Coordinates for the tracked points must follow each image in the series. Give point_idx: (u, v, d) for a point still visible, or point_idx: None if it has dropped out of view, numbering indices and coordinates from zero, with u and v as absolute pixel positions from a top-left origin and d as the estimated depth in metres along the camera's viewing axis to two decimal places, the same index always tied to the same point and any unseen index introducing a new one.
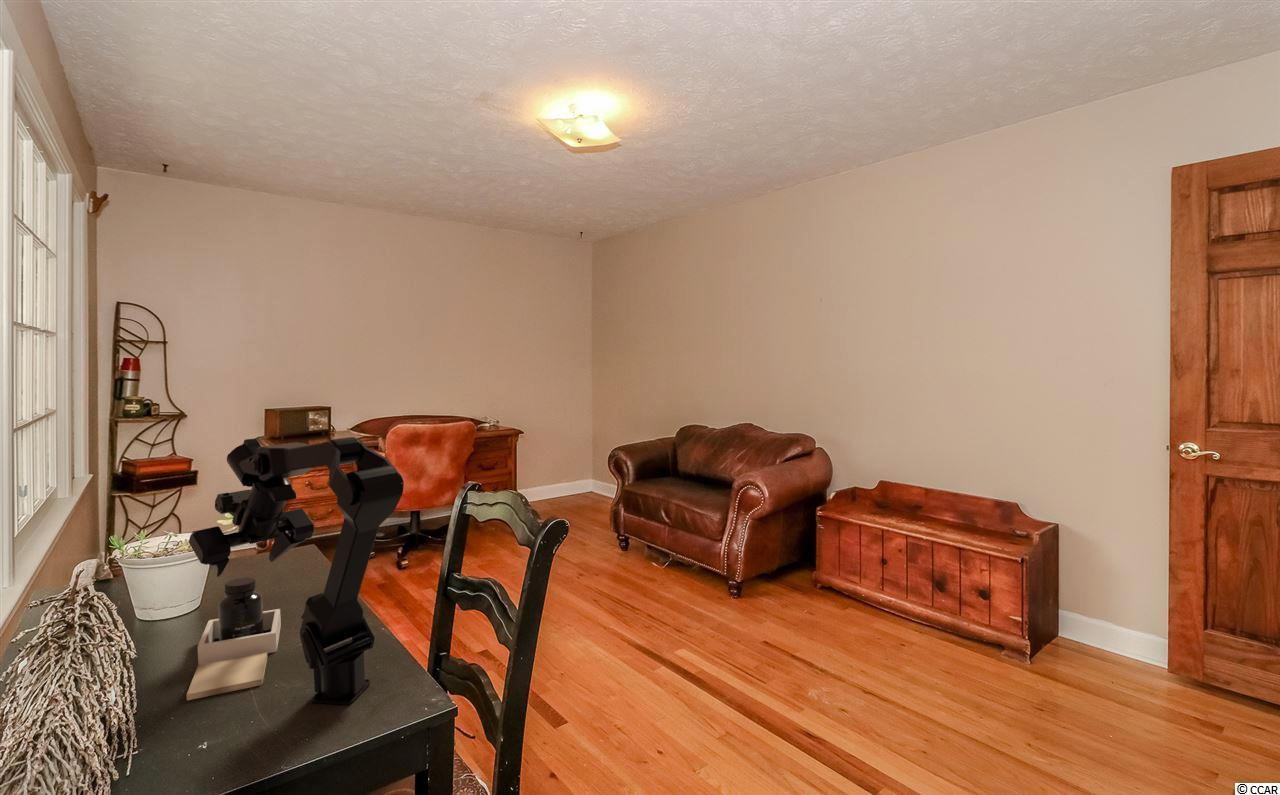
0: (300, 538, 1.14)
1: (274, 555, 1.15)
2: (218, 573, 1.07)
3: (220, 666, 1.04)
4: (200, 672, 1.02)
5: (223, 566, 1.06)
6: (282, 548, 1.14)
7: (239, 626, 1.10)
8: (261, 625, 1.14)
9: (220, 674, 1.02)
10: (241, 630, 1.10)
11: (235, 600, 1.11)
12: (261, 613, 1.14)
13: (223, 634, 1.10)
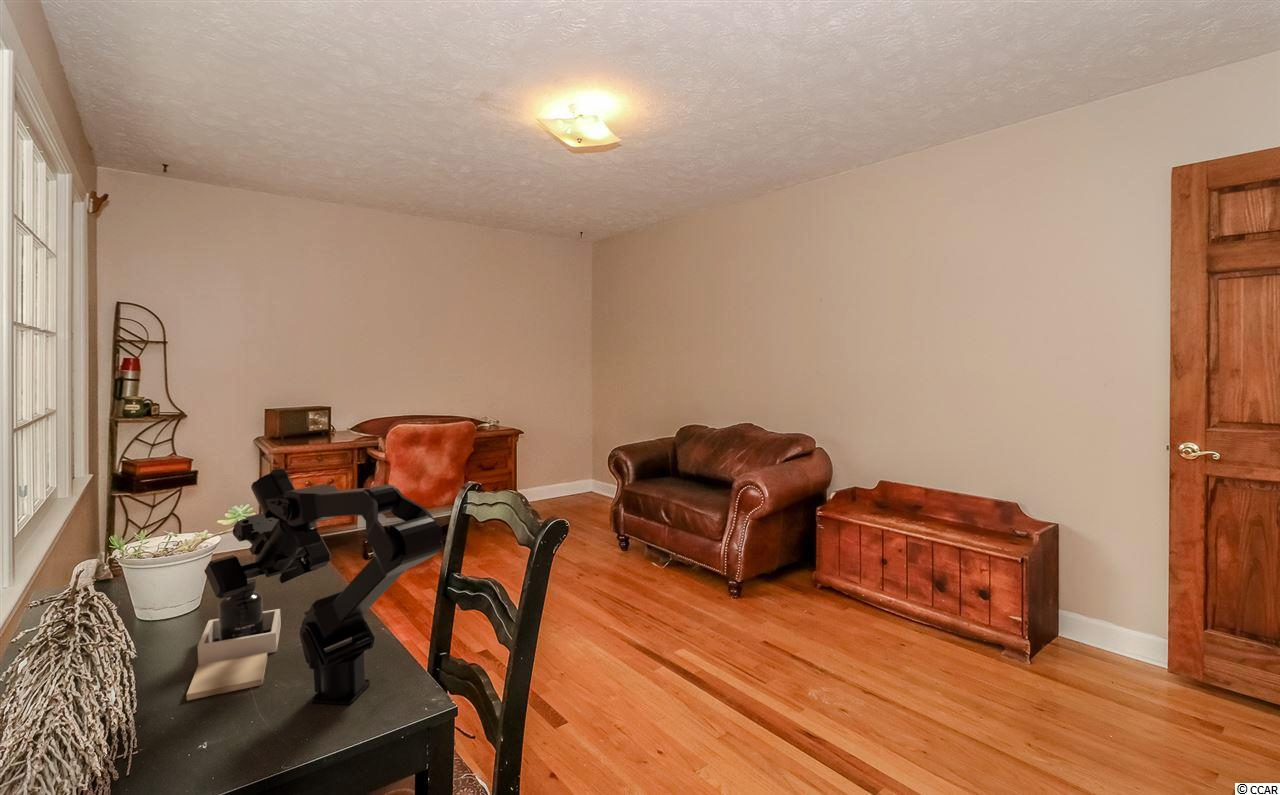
0: (315, 568, 1.11)
1: (286, 578, 1.13)
2: (230, 599, 1.05)
3: (220, 666, 1.04)
4: (200, 672, 1.02)
5: (236, 595, 1.03)
6: (295, 574, 1.12)
7: (239, 626, 1.10)
8: (261, 625, 1.14)
9: (220, 674, 1.02)
10: (241, 630, 1.10)
11: (235, 600, 1.11)
12: (261, 613, 1.14)
13: (223, 634, 1.10)
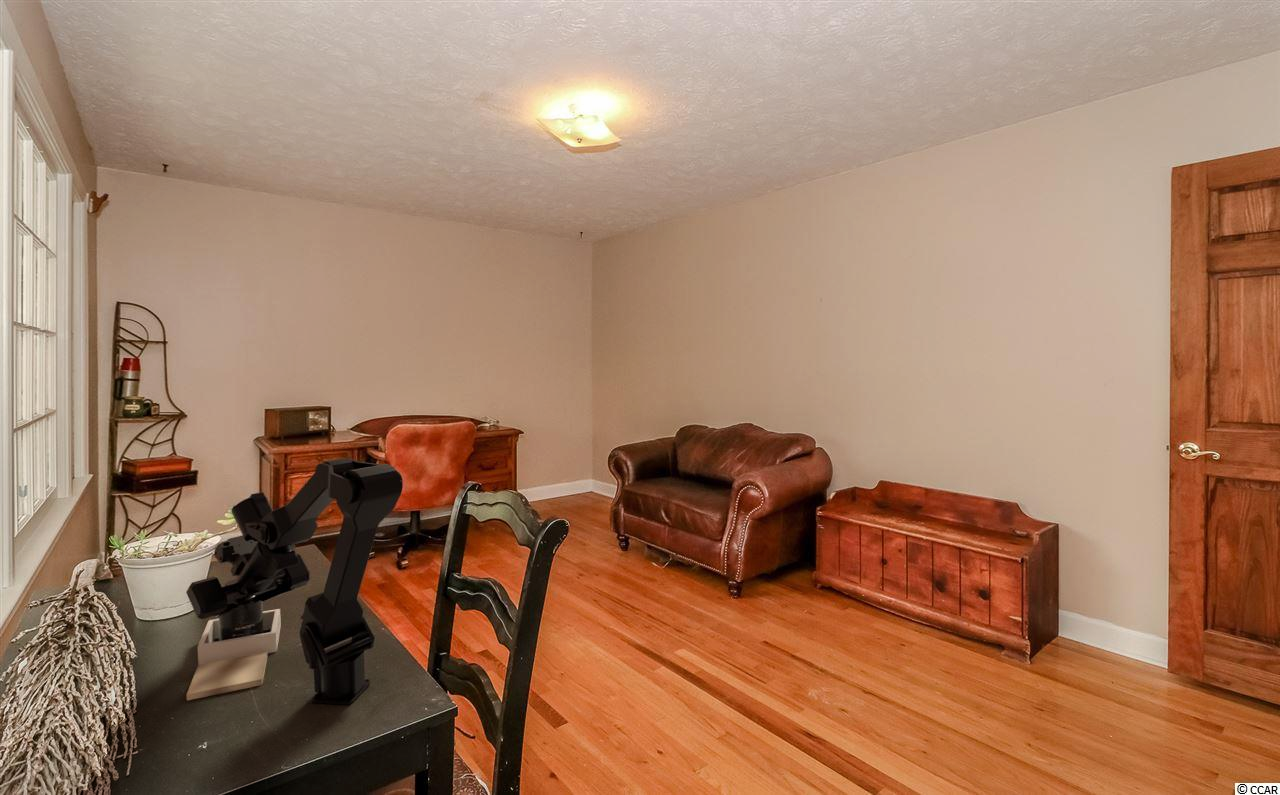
0: (295, 587, 1.15)
1: None
2: (218, 616, 1.09)
3: (220, 666, 1.04)
4: (200, 672, 1.02)
5: (224, 613, 1.08)
6: (270, 595, 1.15)
7: (239, 626, 1.10)
8: (261, 625, 1.14)
9: (220, 674, 1.02)
10: (241, 630, 1.10)
11: (235, 600, 1.11)
12: (261, 613, 1.14)
13: (223, 634, 1.10)
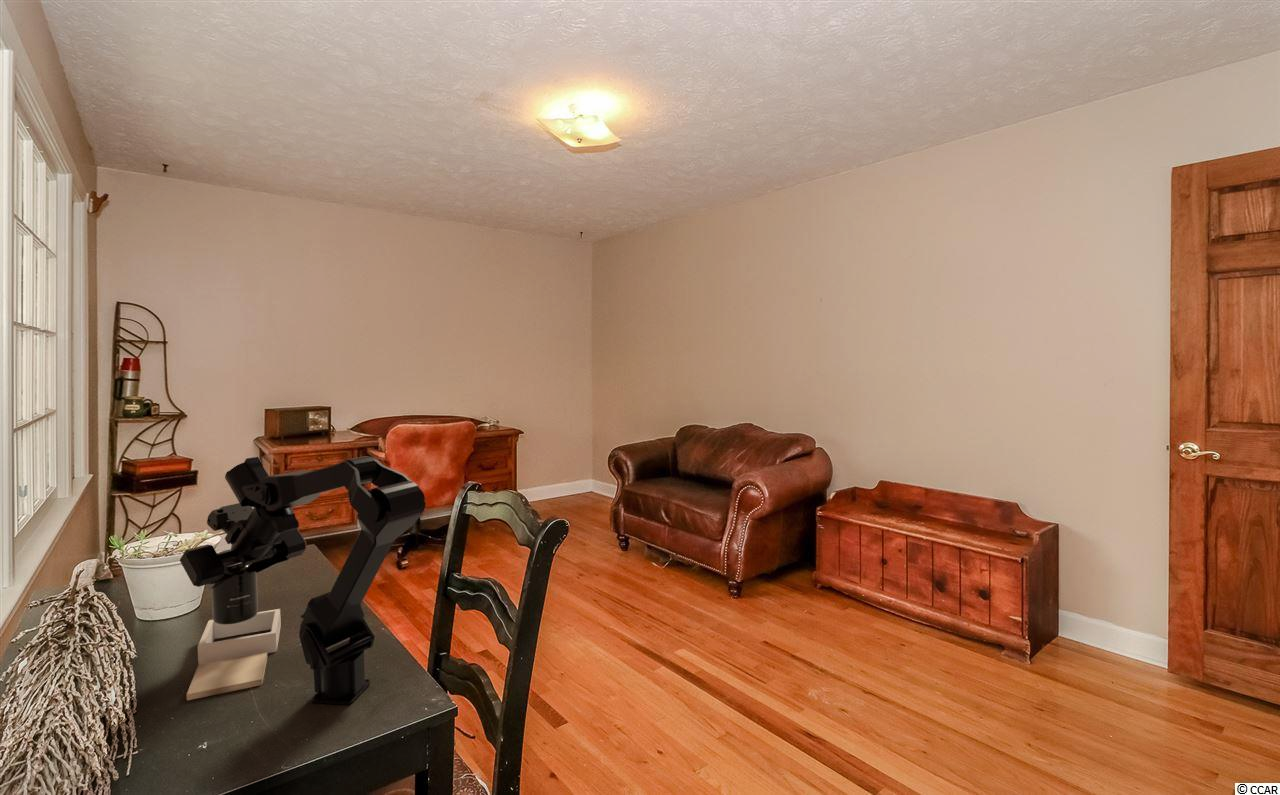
0: (291, 556, 1.12)
1: None
2: (212, 587, 1.06)
3: (220, 666, 1.04)
4: (200, 672, 1.02)
5: (219, 583, 1.04)
6: (265, 565, 1.12)
7: (234, 596, 1.07)
8: (256, 596, 1.11)
9: (220, 674, 1.02)
10: (236, 600, 1.07)
11: (229, 570, 1.07)
12: (256, 584, 1.11)
13: (217, 605, 1.07)
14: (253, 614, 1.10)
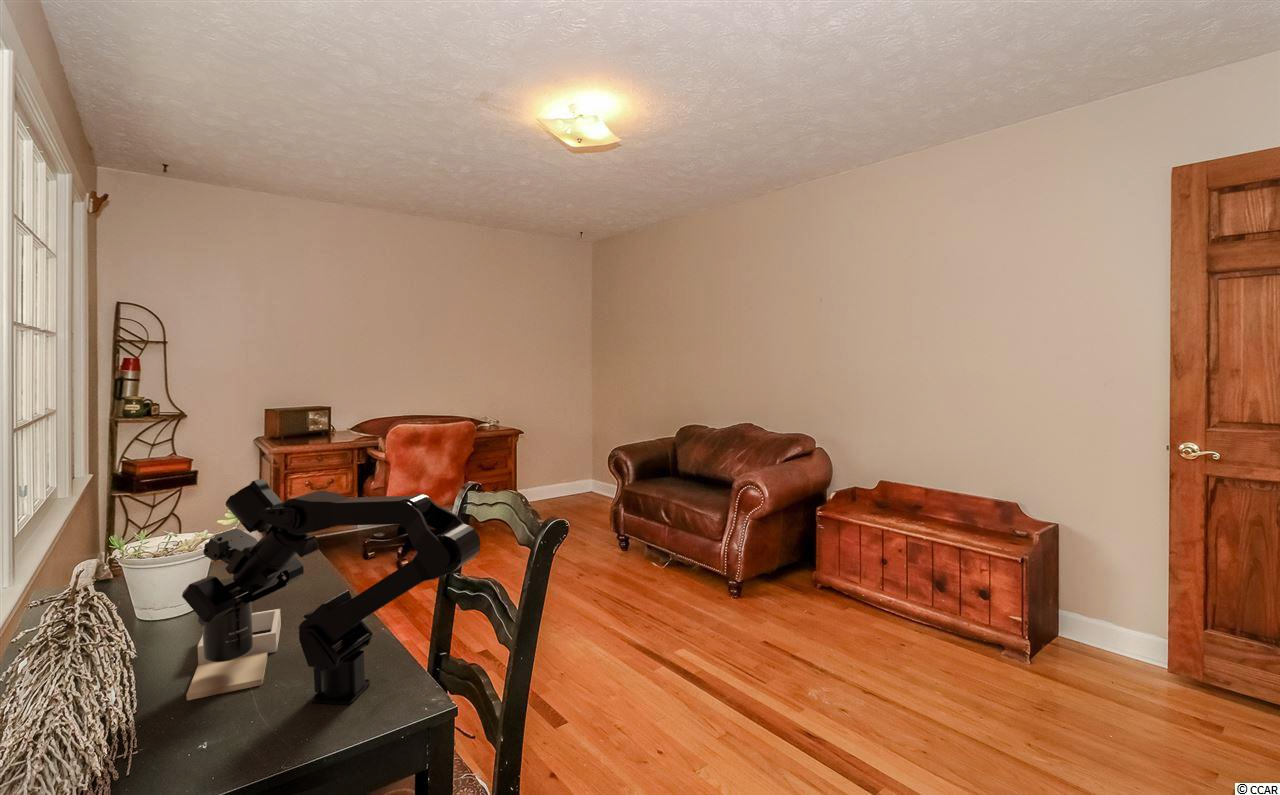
0: (290, 582, 1.06)
1: None
2: None
3: (220, 666, 1.04)
4: (200, 672, 1.02)
5: None
6: (260, 594, 1.04)
7: (233, 630, 0.99)
8: None
9: (220, 674, 1.02)
10: (235, 634, 0.99)
11: None
12: (251, 615, 1.03)
13: (213, 642, 0.98)
14: (251, 647, 1.02)
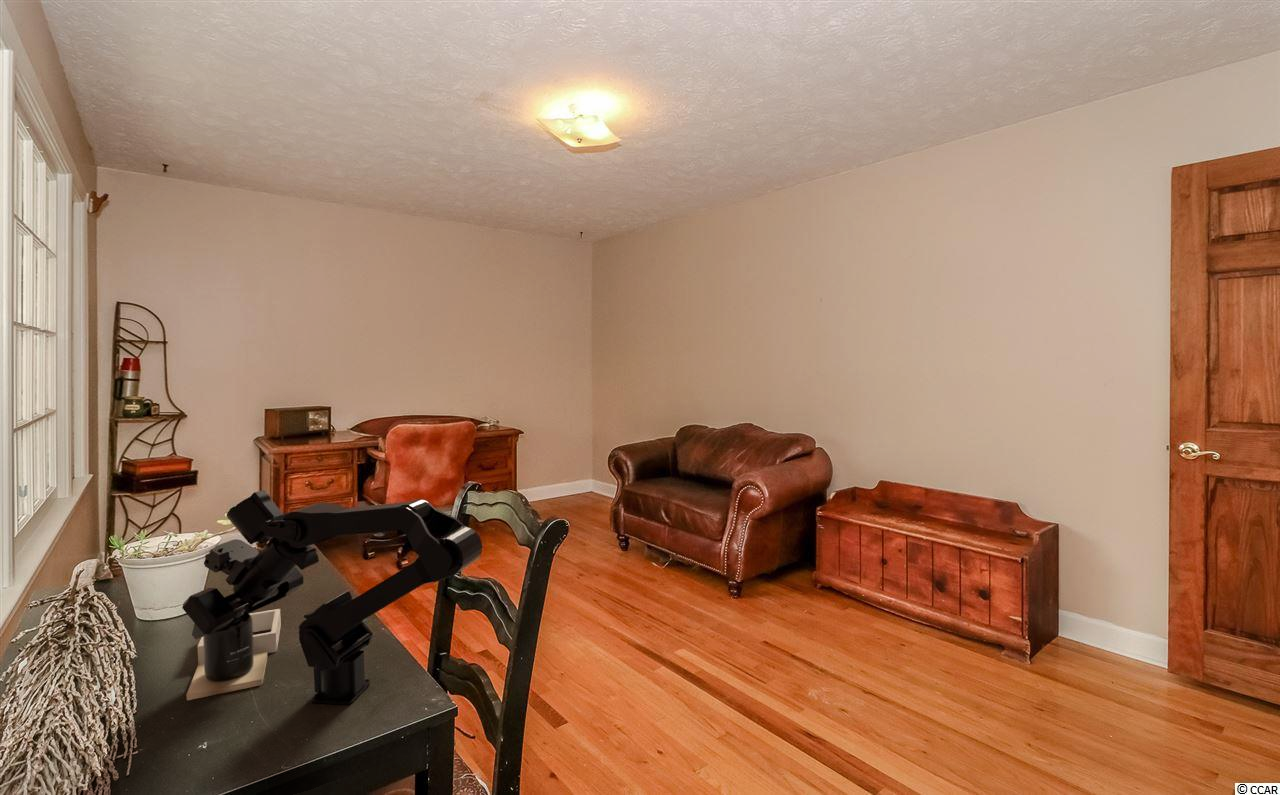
0: (289, 592, 1.06)
1: (251, 608, 1.06)
2: (202, 636, 0.96)
3: None
4: (200, 672, 1.02)
5: None
6: (265, 602, 1.06)
7: (234, 649, 0.99)
8: None
9: None
10: (236, 654, 1.00)
11: None
12: (252, 634, 1.03)
13: (214, 661, 0.99)
14: (251, 666, 1.03)
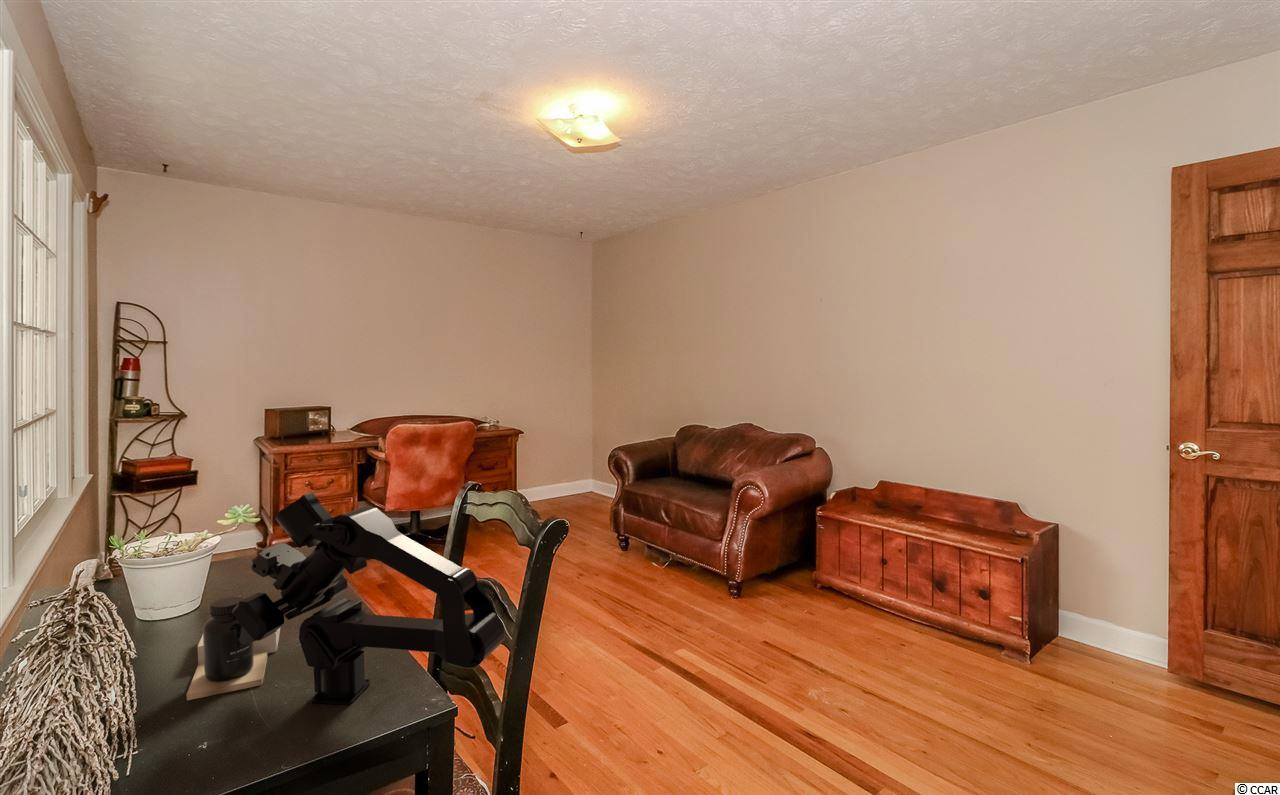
0: (334, 597, 1.05)
1: (295, 613, 1.04)
2: (250, 642, 0.95)
3: None
4: (200, 672, 1.02)
5: None
6: (310, 607, 1.04)
7: (234, 650, 0.99)
8: None
9: None
10: (236, 654, 1.00)
11: (227, 622, 0.99)
12: None
13: (214, 661, 0.99)
14: (251, 666, 1.03)
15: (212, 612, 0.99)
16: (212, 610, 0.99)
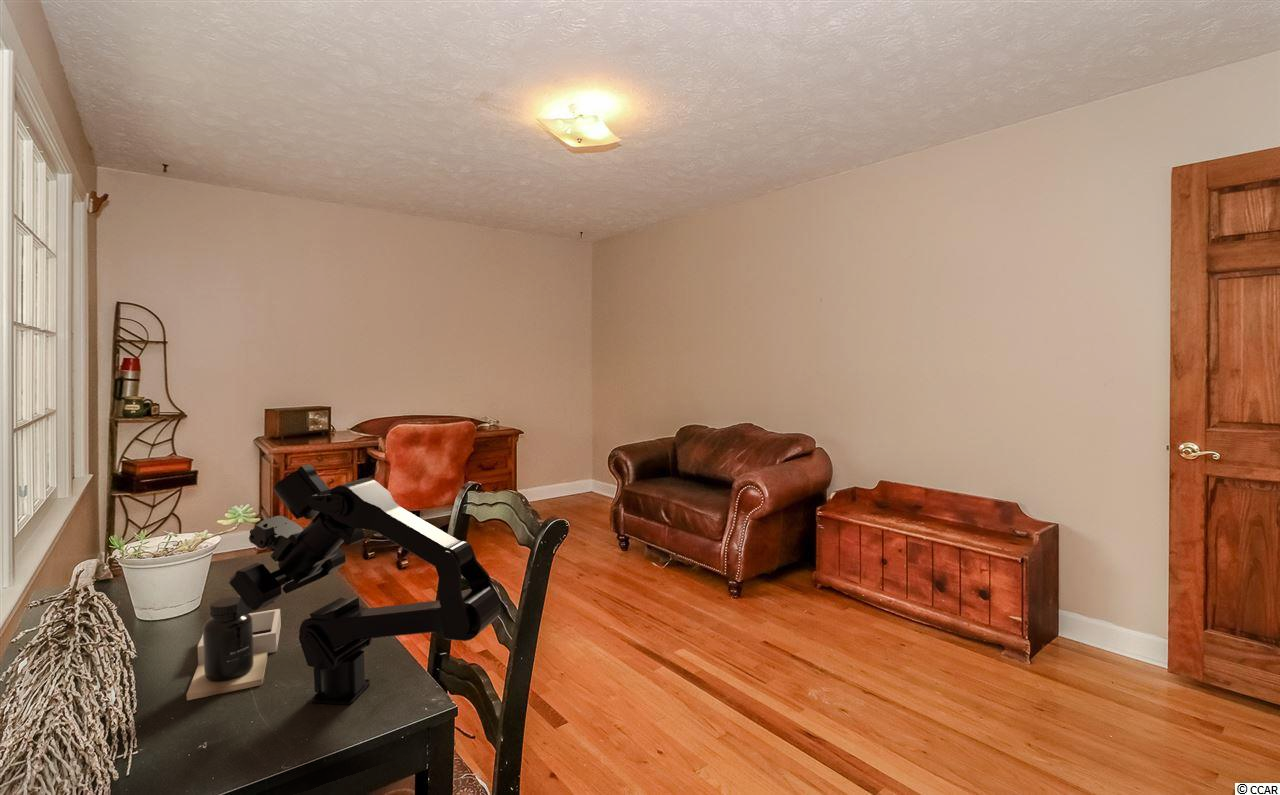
0: (332, 571, 1.04)
1: (293, 587, 1.04)
2: (247, 613, 0.94)
3: None
4: (200, 672, 1.02)
5: None
6: (307, 580, 1.03)
7: (234, 650, 0.99)
8: None
9: None
10: (236, 654, 1.00)
11: (227, 622, 0.99)
12: (252, 634, 1.03)
13: (214, 661, 0.99)
14: (251, 666, 1.03)
15: (212, 612, 0.99)
16: (212, 610, 0.99)
